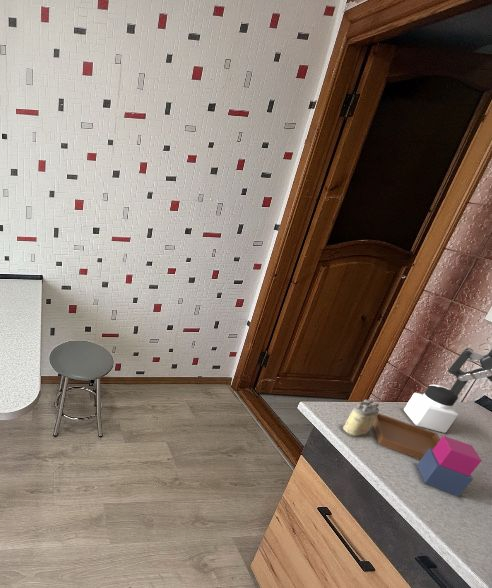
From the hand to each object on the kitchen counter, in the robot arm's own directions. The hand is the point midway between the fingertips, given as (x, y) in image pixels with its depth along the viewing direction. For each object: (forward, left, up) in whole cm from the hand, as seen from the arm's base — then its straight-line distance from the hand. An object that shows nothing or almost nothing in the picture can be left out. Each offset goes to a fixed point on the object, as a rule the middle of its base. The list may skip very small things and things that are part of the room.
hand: (483, 406), depth 69 cm
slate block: (-3, -3, -24) cm, 24 cm away
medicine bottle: (-7, -29, -24) cm, 38 cm away
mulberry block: (-3, -3, -18) cm, 18 cm away
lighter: (+12, -11, -24) cm, 29 cm away
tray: (0, -15, -24) cm, 28 cm away
